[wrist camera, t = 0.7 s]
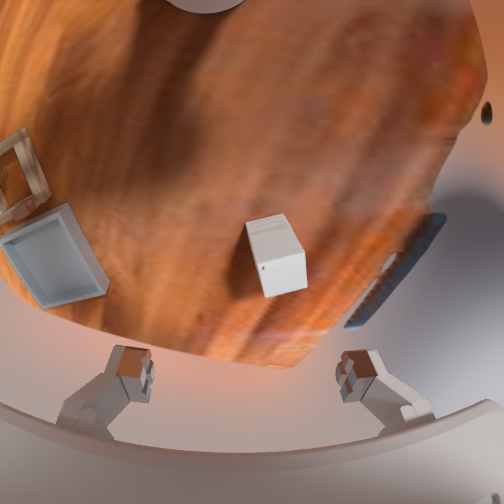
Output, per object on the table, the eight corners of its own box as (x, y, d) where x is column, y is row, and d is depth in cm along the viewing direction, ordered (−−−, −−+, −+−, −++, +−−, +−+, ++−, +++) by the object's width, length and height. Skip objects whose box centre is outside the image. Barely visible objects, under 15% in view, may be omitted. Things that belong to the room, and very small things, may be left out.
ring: (-18, 159, 34) (-38, 172, 28) (26, 126, 34) (4, 136, 28) (8, 217, 42) (-9, 235, 36) (52, 194, 42) (35, 212, 36)
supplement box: (252, 254, 56) (263, 299, 45) (244, 221, 52) (255, 263, 41) (289, 245, 56) (308, 288, 46) (284, 212, 52) (305, 251, 41)
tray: (6, 231, 44) (-3, 241, 40) (67, 201, 44) (59, 211, 40) (48, 297, 54) (42, 309, 51) (110, 281, 54) (105, 294, 51)
